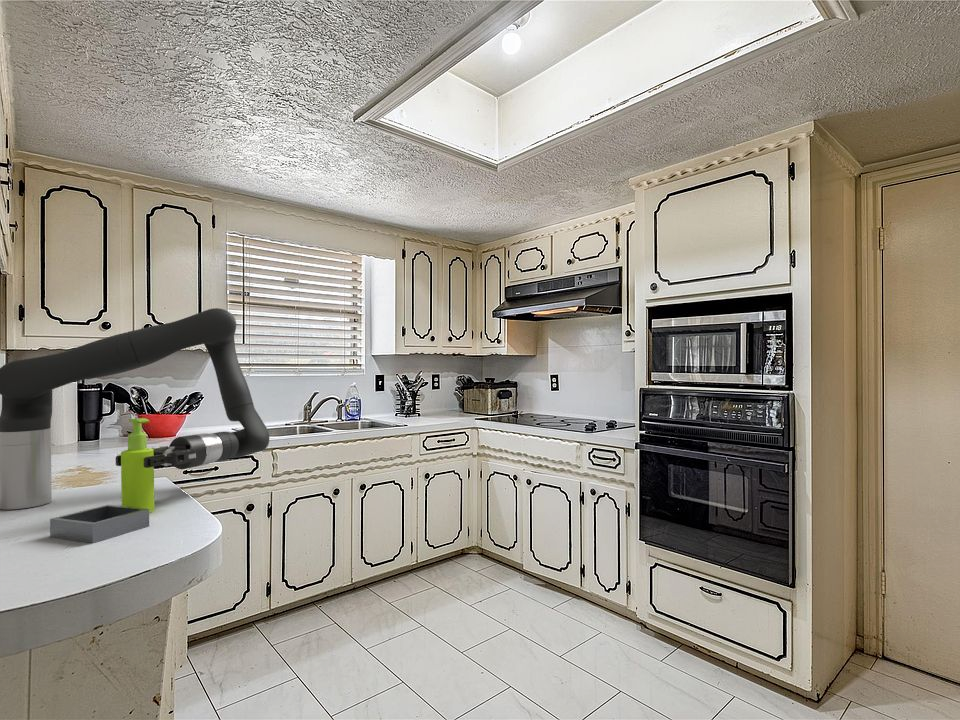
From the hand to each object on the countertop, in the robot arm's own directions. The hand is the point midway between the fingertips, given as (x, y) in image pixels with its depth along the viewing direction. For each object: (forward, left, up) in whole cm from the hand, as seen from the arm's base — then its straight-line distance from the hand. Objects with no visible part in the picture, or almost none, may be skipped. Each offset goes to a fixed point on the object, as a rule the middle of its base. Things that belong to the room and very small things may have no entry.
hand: (130, 462), depth 114 cm
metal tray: (+6, -10, -11) cm, 16 cm away
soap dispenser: (0, +2, -11) cm, 11 cm away
